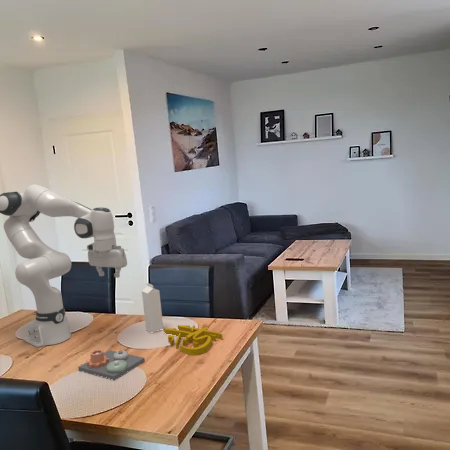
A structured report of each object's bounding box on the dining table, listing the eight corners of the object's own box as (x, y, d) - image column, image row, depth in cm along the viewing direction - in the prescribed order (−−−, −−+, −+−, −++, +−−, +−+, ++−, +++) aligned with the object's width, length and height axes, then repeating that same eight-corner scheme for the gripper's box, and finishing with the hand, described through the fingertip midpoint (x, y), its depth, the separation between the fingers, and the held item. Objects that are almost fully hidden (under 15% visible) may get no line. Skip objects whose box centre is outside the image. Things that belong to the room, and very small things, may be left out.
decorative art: (196, 351, 167) (144, 337, 185) (197, 358, 167) (145, 343, 186) (229, 332, 183) (178, 321, 202) (229, 338, 184) (178, 327, 202)
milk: (151, 333, 195) (146, 286, 192) (145, 330, 200) (140, 284, 197) (163, 329, 199) (158, 283, 196) (157, 326, 204) (152, 281, 201)
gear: (99, 357, 170) (97, 346, 170) (113, 361, 166) (112, 349, 165) (82, 366, 164) (81, 354, 163) (97, 370, 159) (95, 358, 159)
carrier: (78, 370, 164) (76, 355, 163) (110, 353, 177) (108, 339, 176) (114, 380, 154) (112, 364, 153) (145, 361, 167) (143, 347, 166)
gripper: (128, 244, 182) (132, 276, 183) (95, 243, 193) (98, 273, 194) (117, 247, 176) (121, 280, 178) (84, 246, 187) (87, 276, 189)
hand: (109, 276), depth 186 cm, fingers open, 8 cm apart
